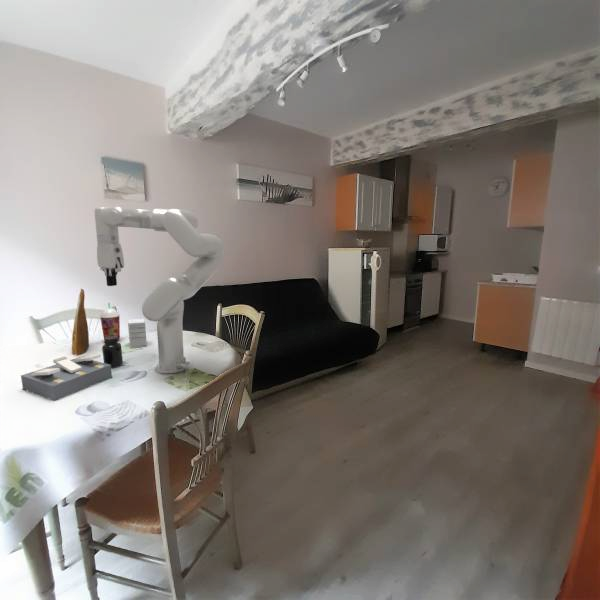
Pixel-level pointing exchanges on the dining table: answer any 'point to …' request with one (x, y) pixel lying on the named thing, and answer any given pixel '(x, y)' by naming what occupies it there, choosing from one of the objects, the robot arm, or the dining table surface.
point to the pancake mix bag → (80, 328)
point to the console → (66, 379)
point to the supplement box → (137, 333)
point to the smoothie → (110, 322)
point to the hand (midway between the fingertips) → (112, 285)
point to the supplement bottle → (112, 352)
